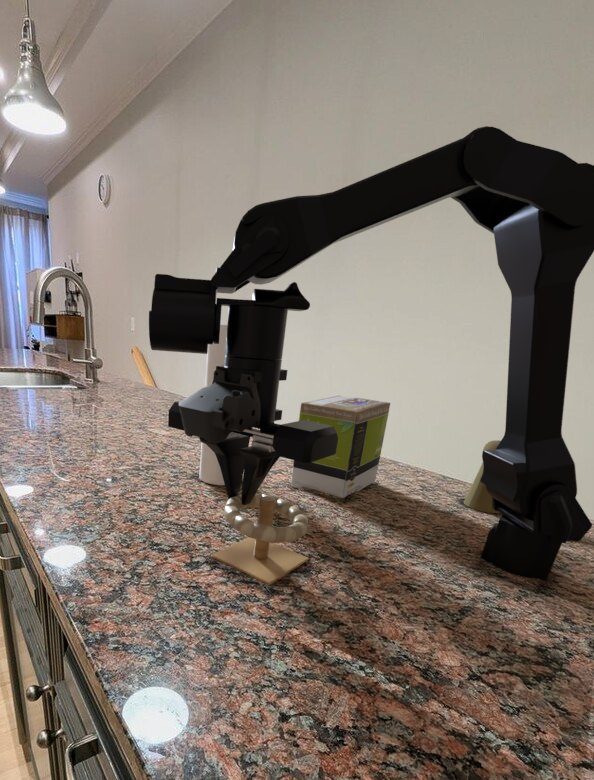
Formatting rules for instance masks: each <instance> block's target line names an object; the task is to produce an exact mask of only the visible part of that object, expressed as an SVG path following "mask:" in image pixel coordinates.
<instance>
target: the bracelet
mask: <svg viewBox="0 0 594 780" xmlns="http://www.w3.org/2000/svg"><path fill="white" fill-rule="evenodd" d="M263 496H269V497H272V498H274V499H275V506H274V512H276V513H278V514H279V515H281V516H283V517H286V518H287V519H288V520H289V521H290V522H291V524H290V525H288V526H272V527H270V526H266V525H262V524H258V523H257V522H255V521H253V520H251V519H249V518H247V517H245V516H244V515H243V514H242V513H241V510H244V509H246V508H259V505H260V498H261V497H263ZM222 513H223V517H224V518H225V519H226V522H228V524H229V525H230V527H231V528H232V529H233V530H235V531H237V532H239V533H240V534H243V535H244V536H246V537H247V538H248V537H250V538H253V539H257V540H261V541H265V542H269V543H274V544H283V543H293V542H295V541H297V540H299V539H300V538H302V537H304V536H305V535H307V534H308V529H309V527H308V526H309V519H308V517H307V515H306V514H305V513H304V512H303V511H302V510H301V509H300V508H299V507H298V506H297V505H295V504H293V503H291V502H289V501H287V500H285V499H283V498H280V497H278V496H274V495H268V494H265V493H264V494H263V493H256V494H255V496H254V497H253V499H252V501H251V502H250V504H248V505H242V493H241V494H238V496H235V497H233V498H230V499H229V498H228V499H227V501H226V503H225V506H224V508H223V511H222Z"/></svg>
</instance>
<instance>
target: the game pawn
mask: <svg viewBox="0 0 594 780" xmlns="http://www.w3.org/2000/svg"><path fill="white" fill-rule="evenodd" d="M500 441H501V440H490V441H488V442H486V443H485V445H484V446H483V449H482V451H481V452H482V453H483V451H484V450H495V449H496V448H497V446H498V445H499V443H500ZM483 469H484V466H483V462H482V463H481V465H480V467H479V468H478V472H477V473H476V475H475V478H474V479H473V482H472V484H471V486H470V488H469V490H468V493H467V494H466V497H465V499H464V501H463V504H464V505H465V506H467V507H468V508H470V509H472V510H476V511H479V512H483V513H489V514H501V513H500V512H498V511H495V510H494V509H493V506H492V496H491V495H490V494H489V493H488V491H487V489H486V485H485V484H483V483H482V482H480V479H481V477H482V474H483Z"/></svg>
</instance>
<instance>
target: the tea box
mask: <svg viewBox="0 0 594 780" xmlns="http://www.w3.org/2000/svg"><path fill="white" fill-rule="evenodd" d="M390 407H391V402H387V401H381V400H376V399H375V400H374V399H369V398H362V397H354V396H346V395H335V396H330V397H325V398H324V397H323V398H319V399H314V400H310V401H304V402H301V403H300V408H299V413H298V415H299V416H298V421H301V420H306V421H311V422H316V423H321V424H325V425H330V426H334V428H335V431H336V433H337V436H338V443H337V449H336V454H334V455H332V456H329V457H326V458H323V459H320V460H317V461H314V462H311V463H304V462H298V461H295V460H293V463H292V471H291V480H290V486H291V487H292V488H295V489H297V490H298V489H300V488H303V487H304V488H307V489H311V490H314V491H318V492H322V493H325V494H329V495H332V496H335V497H339V498H341V499H343V498H344V499H345V498H346V497H347V496H349V495H351V494H353V493H355V492H359V491H361V490H363V489H364V488H366V487H368V486H369V485H371V484H373V483H375V482H376V480H377V475H378V469H379V464H380V458H381V455H382V449H383V444H384V439H385V434H386V429H387V422H388V417H389V413H390Z"/></svg>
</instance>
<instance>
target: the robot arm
mask: <svg viewBox="0 0 594 780" xmlns="http://www.w3.org/2000/svg"><path fill="white" fill-rule="evenodd" d="M446 199H452V200H454V201H456V202H457V203H458V204H460V206H461V207H462V208H463V209H464V211H465V212H466V213H467V214H468V216H470V218H471V219H472V220H473V222H474V223H475V224H476V225H479V226H481V228H484V229H485V230H487V231H488V232H490V233H492V234H493V236H494V243H495V252H496V260H497V265H498V267H499V270H500V272H501V274H502V276H503V278H504V280H505V283H506V284H507V286H508V288H509V291H510V297H511V300H510V301H511V303H510V323H509V324H510V325H509V347H508V367H507V387H506V388H507V389H506V407H505V408H506V409H505V430H504V435H503V436H502V438H501V440H499V441H500V443H499V445H498V446H497V448H496V449H495V450H484V451H483V450H482V452H483V453H482V454H481V459H482V463H483V466H484V469H483V474H482V477H481V479H480V482H482V483H483V484H485V485H486V489H487V491H488V493H489V494H490V495H491V496H492V506H493V509H494V510H495V511H498V512H500V513H499V514H502V515H501V516H500V518H499V520H498V522H495V523H494V524H492V526H491V527H490V528H489V531H488V534H487V536H486V539H485V543H484V546H483V549H482V552H481V554H480V559H481V560H484V561H485V562H487V563H490V564H492V565H494V566H495V567H496V568H498V569H500V570H501V571H503V572H506V573H509V574H511V575H514V576H517V577H521V578H527V579H538V580H541V581H548V578H549V576H550V573H551V571H552V569H553V566H554V564H555V562H556V559H557V556H558V554H559V552H560V549H561V547H562V544H566V543H568V542H580V541H581V540H582V539H583V538H584V537H585V536H586V535H587V534H588V532H589V531H590V530H591V528H592V527H593V523H592V522H591V520H590V519H589V516H588V515H587V514H586V512H585V511H584V509H583V508H582V506H581V504H580V503H579V501H578V499H577V495H578V484H577V482H578V481H577V471H576V463H575V461H574V458H573V456H572V454H571V453H570V450H569V448H568V446H567V444H566V441H565V440H564V438H563V434H562V433H563V432H562V431H563V429H562V428H563V421H564V419H563V418H564V410H565V409H564V407H565V398H566V388H567V376H568V365H569V358H570V357H569V355H570V345H571V336H572V335H571V334H572V325H573V315H574V314H573V313H574V302H575V293H576V285H577V281H578V278H579V277H580V275H581V273H582V272H583V270H584V269H585V267H586V265H587V264H588V262H589V260H590V258H591V257H592V255H593V253H594V164H592V163H588V162H577V161H576V160H574V159H572V158H571V157H569V156H568V155H567V154H565V153H564V152H561V151H559V150H555V149H552V148H549V147H544V146H540V145H537V144H532V143H529V142H525V141H521V140H518V139H516V138H514V137H513V136H511V135H510V134H508V133H506V132H505V131H504V130H502V129H501V128H498V127H495V126H488V125H485V126H481V127H477V128H475V129H473V130H472V131H471V132H469V133H468V134H466V135H465V136H464V137H462V138H460V139H457V140H455V141H453V142H450V143H448V144H445V145H442V146H441V147H438V148H436V149H433V150H431V151H428V152H426V153H423V154H421V155H419V156H416V157H414V158H411V159H409V160H407V161H404V162H402V163H399V164H397V165H394V166H392V167H390V168H388V169H385V170H382V171H380V172H378V173H374V174H372V175H371V176H368V177H366V178H363V179H361V180H358V181H355V182H354V183H351V184H349V185H347V186H344V187H341V188H339V189H337V190H334V191H331V192H327V193H321V194H311V195H309V194H308V195H296V196H291V197H286V198H281V199H276V200H271V201H267V202H262V203H259V204H256V205H255V206H253V207H252V208H250V209H248V210H247V211H246V212H245V214H244V215H242V218H241V219H240V221H239V223H238V225H237V228H236V230H235V234H234V238H233V244H232V251H231V252H230V254H229V255H228V257H226V259H225V260H224V261H223V263H221V265H220V266H219V267H216V268H215V273H214V274H213V276H212V277H211V279H201V278H189V277H188V278H187V277H176V276H174V275H171V274H165V273H156V274H155V275H154V285H153V290H152V298H151V307H150V308H151V310H149V311H148V335H149V345H150V349H151V350H152V351H157V352H158V351H159V352H173V353H189V354H202V355H207V352H208V344H213V343H214V344H219V336H220V325H221V322H222V321H221V320H222V319H221V318H222V307H228V311H227V323H226V325H227V337H226V350H225V364H224V366H216V370H215V371H214V378H213V382H212V385H210V386H208V387H205V386H204V387H201V388H200V389H198V390H197V391H195V392H194V393H192V394H190V395H188V396H187V397H185V398H183V399H182V400H178V401H174V402H173V403H172V404H171V407H170V408H169V409H168V416H167V417H168V419H167V420H168V422H167V427H169V428H172V429H177V430H180V431H184V434H185V435H186V436H187V437H197V438H198V439H199V441H200V442H202V443H205V444H206V445H207V446H208V447H209V448H210V449H211V450H212V451H213V452H214V453H215V455H216V457H217V460H218V463H219V466H220V469H221V473H222V476H223V480H224V484H225V485H224V486H225V490H226V495H227V499H228V500H229V499H230V498H233V497H235V496H238V495H239V493H240V490H241V494H242V505H248V504H250V502H251V501H252V499H253V497H254V496H255V494H257V492H258V491H259V489H260V487H261V486H262V484H263V482H264V481H265V479H266V478H267V476H268V474H269V472H270V471H271V470H272V468H273V467H274V465H275V464H276V463H277V461H278V460H279V459H280V458H284V459H286V460H287V459H288V460H291V461H294V460H295V461H298V462H304V463H311V462H314V461H317V460H320V459H323V458H326V457H329V456H332V455H334V454H336V449H337V443H338V436H337V433H336V431H335V428H334V426H330V425H325V424H321V423H316V422H311V421H306V420H301V421H299V420H297V421H291V422H287V423H282V424H280V423H275V422H276V421H282V417H283V409H278V408H277V404H278V395H279V388H280V387H279V386H280V381H287V376H288V369H282V361H283V360H282V359H283V353H284V345H285V336H286V330H287V329H286V328H287V319H288V312H290V311H291V312H292V311H293V312H302V311H303V312H304V311H307V310H309V309H310V307H311V303H310V302H309V300H308V299H307V298H306V297H305V296H304V295H303V293H301V291H300V288H299V285H298V283H297V282H296V281H293V282H291V283H290V284H288V286H287V287H286V288H285V289H284V290H279V289H264V288H254V289H253V292H252V297H251V299H241V298H240V299H238V298H224V297H217V294H229V295H230V294H231V295H232V294H234V293H236V292H237V291H239V290H241V289H242V288H244V287H246V286H247V285H248V284H250V283H252V284H254V285H266V284H270V283H272V282H274V281H276V280H278V279H279V278H281V277H282V276H284V275H286V274H287V273H289V272H290V271H292V270H294V269H296V268H297V267H299V266H300V265H302V264H303V263H304V262H306V261H308V260H310V259H311V258H313V257H315V256H316V255H317V254H320V253H321V252H322V251H324V250H326V249H327V248H329V247H330V246H332V245H333V244H336V243H338V242H341V241H343V240H346V239H348V238H351V237H353V236H355V235H358V234H361V233H363V232H366V231H368V230H371V229H374V228H376V227H379V226H381V225H383V224H386V223H389V222H391V221H394V220H397V219H399V218H401V217H404V216H406V215H409V214H411V213H414V212H416V211H419V210H421V209H424V208H426V207H429V206H431V205H434V204H436V203H439V202H441V201H444V200H446ZM251 438H252V440H251ZM250 440H251V445H250Z"/></svg>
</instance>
